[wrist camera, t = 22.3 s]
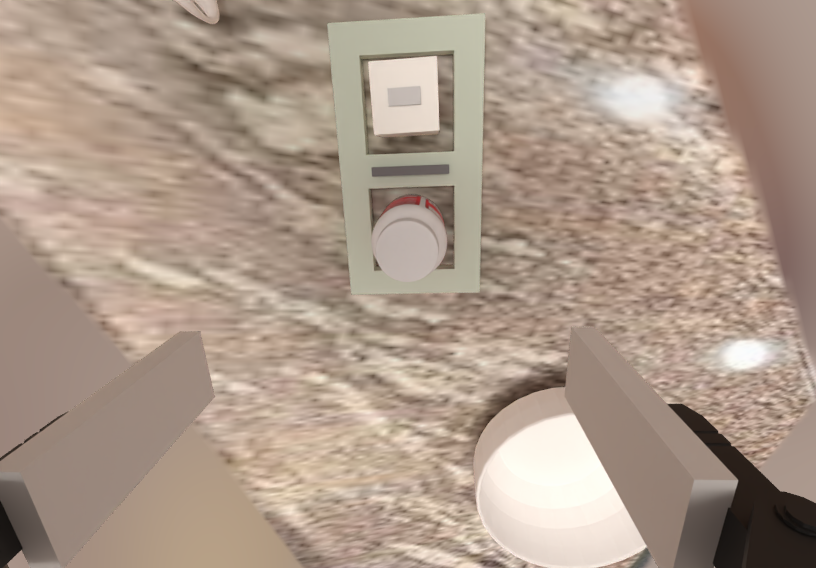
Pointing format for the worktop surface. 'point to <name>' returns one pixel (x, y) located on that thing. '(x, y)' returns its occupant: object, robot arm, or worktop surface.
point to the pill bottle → (409, 238)
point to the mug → (207, 4)
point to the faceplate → (411, 168)
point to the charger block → (404, 96)
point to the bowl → (549, 488)
